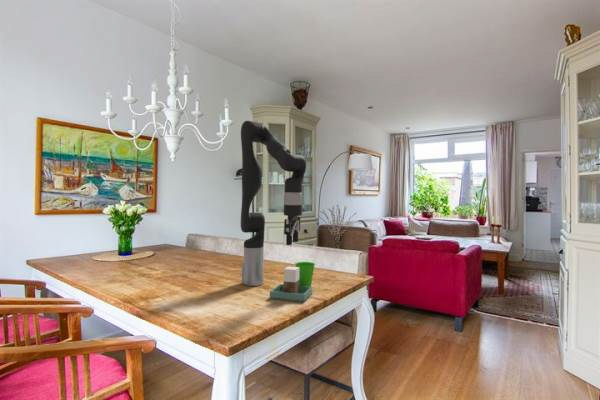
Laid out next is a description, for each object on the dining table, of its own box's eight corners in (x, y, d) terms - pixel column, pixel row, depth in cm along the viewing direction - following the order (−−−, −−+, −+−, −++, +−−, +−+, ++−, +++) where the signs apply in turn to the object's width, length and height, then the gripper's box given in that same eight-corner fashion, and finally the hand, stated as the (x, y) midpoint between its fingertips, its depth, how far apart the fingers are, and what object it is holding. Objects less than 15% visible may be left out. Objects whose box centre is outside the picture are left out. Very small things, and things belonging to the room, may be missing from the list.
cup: (297, 292, 138) (297, 266, 138) (292, 286, 147) (292, 262, 146) (317, 290, 140) (317, 265, 140) (311, 285, 149) (311, 261, 149)
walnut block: (283, 296, 130) (283, 281, 130) (287, 292, 135) (287, 278, 135) (295, 297, 128) (295, 282, 128) (298, 293, 133) (299, 279, 133)
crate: (269, 298, 128) (269, 291, 128) (279, 291, 139) (279, 284, 139) (304, 302, 124) (304, 294, 124) (312, 294, 135) (312, 286, 135)
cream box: (283, 281, 130) (284, 268, 130) (287, 278, 135) (288, 266, 135) (295, 282, 128) (295, 269, 128) (299, 279, 133) (299, 267, 133)
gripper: (296, 204, 123) (296, 246, 124) (306, 203, 137) (305, 241, 137) (278, 204, 125) (277, 245, 126) (289, 202, 139) (289, 240, 139)
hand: (292, 243), depth 131 cm, fingers open, 8 cm apart
